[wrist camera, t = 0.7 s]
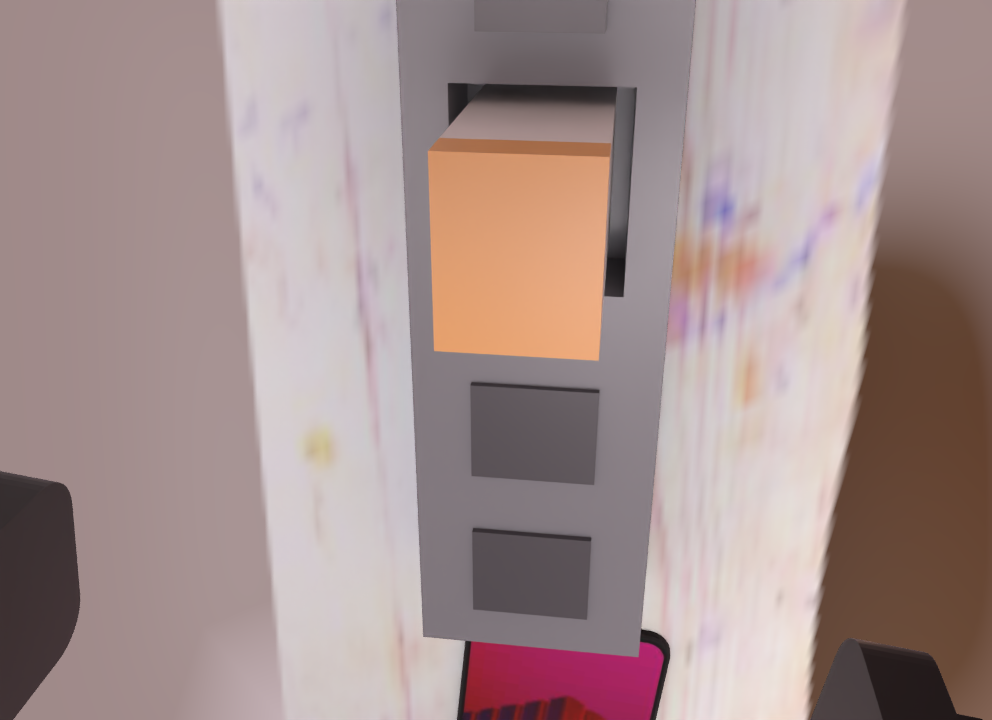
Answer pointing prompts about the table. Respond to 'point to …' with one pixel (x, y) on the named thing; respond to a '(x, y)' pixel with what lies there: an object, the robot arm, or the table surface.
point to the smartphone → (562, 682)
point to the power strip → (536, 380)
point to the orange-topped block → (523, 221)
